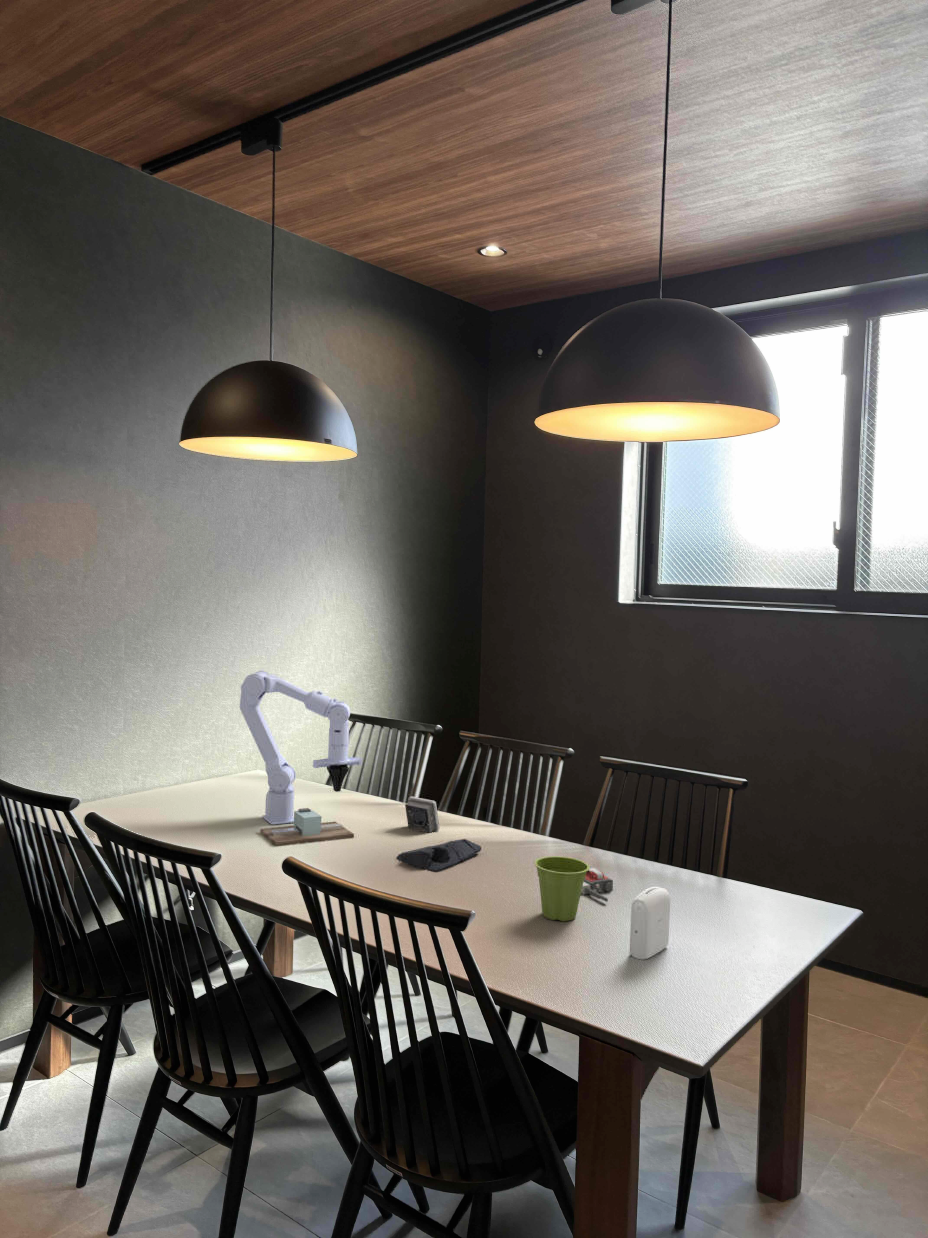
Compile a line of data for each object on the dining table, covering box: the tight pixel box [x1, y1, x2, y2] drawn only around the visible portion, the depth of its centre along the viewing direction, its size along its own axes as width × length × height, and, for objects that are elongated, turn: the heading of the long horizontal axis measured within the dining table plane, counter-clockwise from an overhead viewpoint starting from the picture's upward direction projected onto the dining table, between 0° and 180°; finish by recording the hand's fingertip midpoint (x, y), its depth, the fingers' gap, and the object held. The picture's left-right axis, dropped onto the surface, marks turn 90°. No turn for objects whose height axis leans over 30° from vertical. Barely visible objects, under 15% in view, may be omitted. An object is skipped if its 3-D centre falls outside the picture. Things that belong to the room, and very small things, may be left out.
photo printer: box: [629, 886, 671, 961], centre depth 177 cm, size 10×4×12 cm, turn 140°
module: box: [293, 807, 322, 836], centre depth 249 cm, size 8×5×6 cm, turn 29°
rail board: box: [259, 821, 355, 847], centre depth 249 cm, size 14×22×2 cm, turn 119°
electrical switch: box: [404, 795, 440, 834], centre depth 258 cm, size 9×5×9 cm, turn 57°
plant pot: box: [533, 855, 590, 922], centre depth 194 cm, size 12×12×11 cm
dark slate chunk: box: [396, 838, 482, 872], centre depth 233 cm, size 15×22×5 cm
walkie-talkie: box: [581, 867, 614, 903], centre depth 213 cm, size 9×4×20 cm
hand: (336, 790), depth 262 cm, fingers closed
